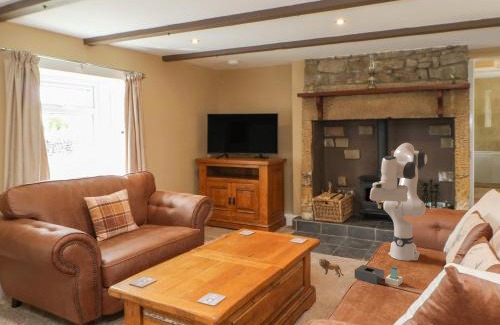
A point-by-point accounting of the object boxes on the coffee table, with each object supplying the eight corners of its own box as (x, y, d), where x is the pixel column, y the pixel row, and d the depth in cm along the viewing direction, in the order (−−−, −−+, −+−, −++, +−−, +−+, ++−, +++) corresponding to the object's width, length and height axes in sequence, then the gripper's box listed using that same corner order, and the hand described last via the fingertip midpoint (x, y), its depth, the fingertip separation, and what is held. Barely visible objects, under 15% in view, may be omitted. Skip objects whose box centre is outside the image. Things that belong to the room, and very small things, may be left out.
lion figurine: (317, 274, 230) (318, 259, 229) (320, 271, 235) (320, 256, 234) (343, 278, 224) (343, 262, 223) (344, 274, 229) (345, 259, 228)
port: (362, 273, 231) (362, 264, 230) (383, 278, 223) (384, 269, 222) (354, 278, 223) (354, 269, 223) (376, 284, 215) (376, 274, 214)
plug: (392, 281, 219) (392, 265, 218) (397, 282, 217) (398, 266, 216) (390, 282, 217) (390, 267, 216) (395, 284, 215) (396, 268, 214)
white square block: (390, 279, 222) (390, 274, 221) (402, 282, 217) (402, 277, 217) (385, 283, 216) (385, 277, 216) (397, 286, 212) (398, 281, 212)
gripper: (407, 184, 224) (406, 208, 225) (369, 183, 228) (369, 206, 229) (409, 186, 218) (408, 210, 219) (371, 184, 222) (370, 209, 223)
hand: (388, 208), depth 224 cm, fingers open, 8 cm apart
